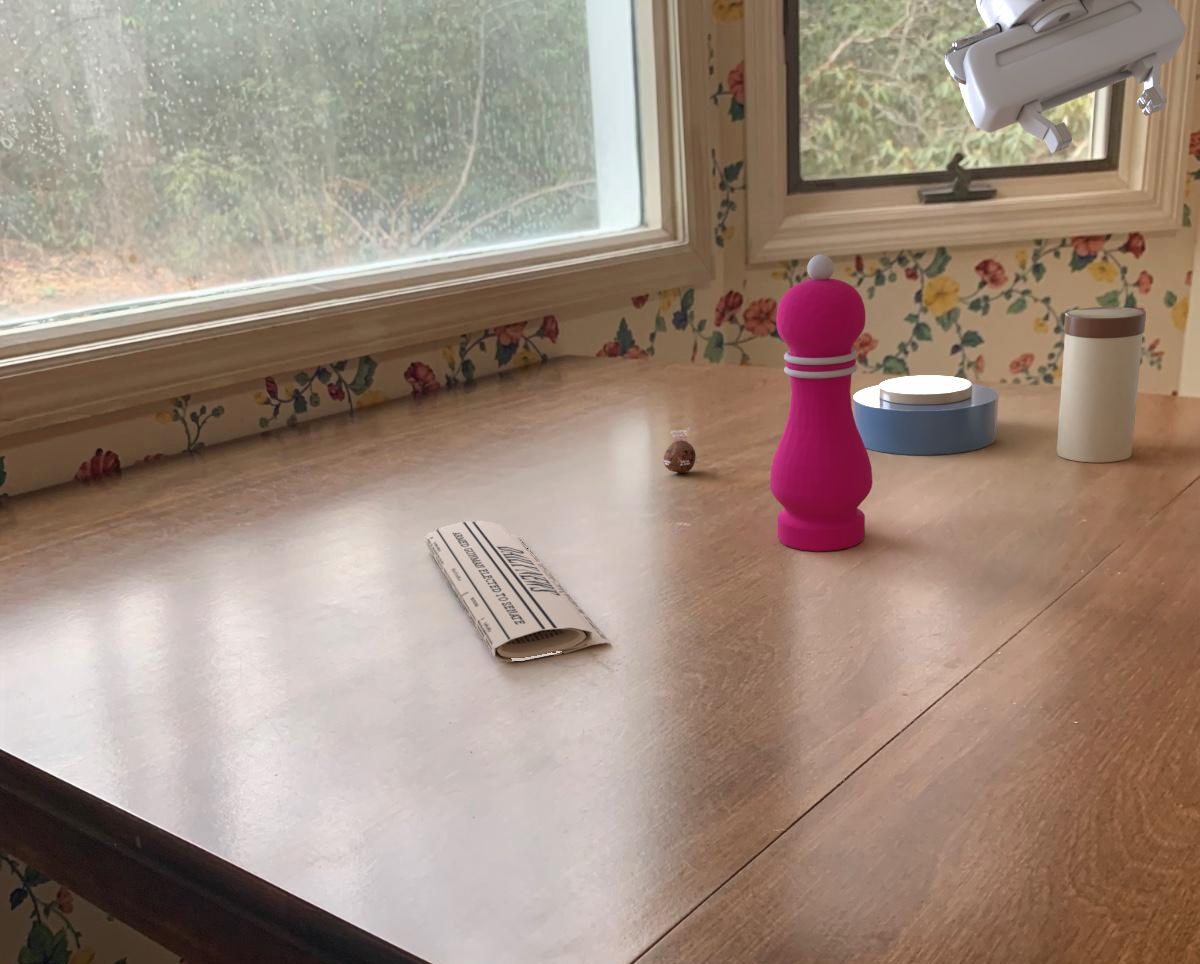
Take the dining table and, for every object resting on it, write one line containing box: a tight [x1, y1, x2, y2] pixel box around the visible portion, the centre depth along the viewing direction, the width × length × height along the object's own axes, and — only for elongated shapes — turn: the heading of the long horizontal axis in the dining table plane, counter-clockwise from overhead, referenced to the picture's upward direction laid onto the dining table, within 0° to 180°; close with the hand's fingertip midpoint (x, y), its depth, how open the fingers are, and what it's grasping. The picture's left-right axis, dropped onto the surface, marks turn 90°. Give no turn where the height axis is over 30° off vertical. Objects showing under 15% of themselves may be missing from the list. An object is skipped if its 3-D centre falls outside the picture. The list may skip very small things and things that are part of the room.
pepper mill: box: [769, 254, 873, 552], centre depth 85 cm, size 7×7×20 cm
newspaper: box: [424, 520, 611, 663], centre depth 82 cm, size 24×7×2 cm, turn 18°
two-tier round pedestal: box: [852, 375, 1000, 456], centre depth 112 cm, size 13×13×5 cm
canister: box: [1056, 306, 1147, 464], centre depth 102 cm, size 6×6×12 cm
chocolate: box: [662, 427, 699, 474], centre depth 106 cm, size 3×2×4 cm
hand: (1110, 127), depth 109 cm, fingers open, 8 cm apart
